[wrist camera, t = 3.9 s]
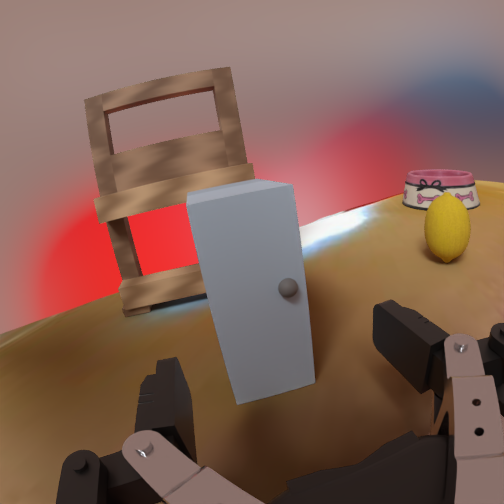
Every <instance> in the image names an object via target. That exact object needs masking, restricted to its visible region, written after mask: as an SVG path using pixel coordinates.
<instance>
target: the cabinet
mask: <svg viewBox="0 0 504 504" xmlns="http://www.w3.org/2000/svg"><path fill="white" fill-rule="evenodd" d="M186 206H187V211H188V216H189V220H190V225H191V230H192V234H193V238H194V243H195V248H196V251H197V256H198V261H199V265H200V269H201V273H202V277H203V281H204V286H205V290H206V294H207V298H208V302H209V306H210V310H211V313H212V317H213V321H214V325H215V329H216V332H217V336H218V340H219V344H220V347H221V351H222V354H223V358H224V362H225V365H226V369H227V372H228V376H229V379H230V383H231V386H232V389H233V393H234V396H235V400H236V403H237V405H239V404H243V403H247V402H251V401H255V400H259V399H263V398H267V397H270V396H274V395H277V394H281V393H284V392H288V391H291V390H295V389H298V388H301V387H304V386H307V385H310V384H314V383H315V372H314V360H313V348H312V337H311V327H310V317H309V307H308V298H307V289H306V280H305V271H304V263H303V255H302V247H301V239H300V232H299V224H298V217H297V211H296V203H295V196H294V190H293V185H292V184H287V183H280V182H274V181H268V180H261V179H253V180H247V181H242V182H237V183H231V184H226V185H221V186H216V187H211V188H207V189H202V190H197V191H193V192H188V193H187V203H186Z"/></svg>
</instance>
